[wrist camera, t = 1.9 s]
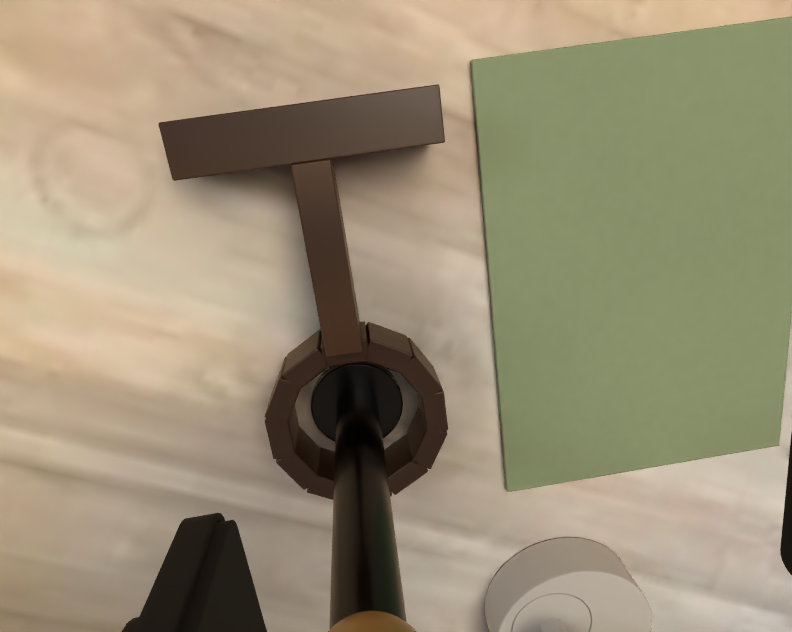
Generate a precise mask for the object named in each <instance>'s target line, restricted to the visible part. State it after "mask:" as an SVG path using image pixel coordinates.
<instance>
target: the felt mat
mask: <svg viewBox="0 0 792 632" xmlns="http://www.w3.org/2000/svg"><path fill="white" fill-rule="evenodd" d="M471 74H472V86H473V98H474V110H475V122H476V134H477V146H478V158H479V170H480V182H481V194H482V206H483V218H484V229H485V241H486V253H487V265H488V277H489V289H490V301H491V313H492V325H493V337H494V349H495V361H496V373H497V385H498V397H499V409H500V421H501V433H502V445H503V457H504V469H505V481H506V490H507V492H511V491H517V490H523V489H529V488H535V487H540V486H546V485H552V484H558V483H564V482H569V481H575V480H581V479H587V478H593V477H599V476H604V475H610V474H616V473H622V472H628V471H633V470H639V469H645V468H651V467H657V466H662V465H668V464H674V463H680V462H686V461H691V460H697V459H703V458H709V457H715V456H720V455H726V454H732V453H738V452H744V451H750V450H755V449H761V448H767V447H773V446H779V440H780V429H781V419H782V408H783V398H784V387H785V377H786V366H787V356H788V345H789V335H790V324H791V314H792V17H786V18H779V19H771V20H764V21H757V22H749V23H742V24H734V25H727V26H720V27H712V28H705V29H697V30H690V31H682V32H675V33H668V34H660V35H653V36H645V37H638V38H631V39H623V40H616V41H608V42H601V43H593V44H586V45H579V46H571V47H564V48H556V49H549V50H542V51H534V52H527V53H519V54H512V55H504V56H497V57H490V58H482V59H475V60H471Z"/></svg>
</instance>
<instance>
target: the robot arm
mask: <svg viewBox="0 0 792 632" xmlns="http://www.w3.org/2000/svg"><path fill="white" fill-rule="evenodd" d="M780 550H781V557H782V561H783V563H784V565H785V567H786V568H787V570H788V572H789V573H790V574H791V575H792V434H791V445H790V455H789V466H788V476H787V486H786V497H785V507H784V518H783V528H782V539H781V549H780ZM122 632H267V630H266V627H265V623H264V620H263V616H262V613H261V609H260V605H259V602H258V598H257V595H256V591H255V587H254V584H253V580H252V577H251V573H250V570H249V566H248V562H247V559H246V555H245V552H244V548H243V544H242V541H241V537H240V534H239V530H238V527H237V524H236V522H235V521H234V520H229V521H225V519H224V517H223V515H222V514H220V513H215V514H209V515H203V516H198V517H192V518H186V519H184V520H182V522H181V524H180V525H179V528H178V530H177V532H176V535H175V537H174V539H173V541H172V544H171V546H170V548H169V551H168V553H167V555H166V557H165V560H164V562H163V564H162V567H161V569H160V571H159V573H158V576H157V578H156V580H155V583H154V585H153V587H152V589H151V592H150V594H149V596H148V599H147V601H146V603H145V605H144V608H143V610H142V612H141V615H140V617H137V618H133V619H132V620H130V621H129V622H128V623H127V624H126V626H125V627H124V629H123V631H122Z"/></svg>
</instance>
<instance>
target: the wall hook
mask: <svg viewBox="0 0 792 632" xmlns="http://www.w3.org/2000/svg"><path fill="white" fill-rule="evenodd" d="M485 617H486V621H487V624H488V628H489V631H490V632H651V629H652V614H651V609H650V606H649V603H648V601H647V599H646V597H645V596H644V594H643V593H642V591H641V590H640V588H639V587H638V585H637V584H636V582H635V581H634V579H633V578H632V576H631V575H630V573H629V572H628V570H627V569H626V567H625V566H624V564H623V563H622V561H621V560H620V559H619V557H618V556H617V555H616V554H615V553H614V552H613V551H611V550H610V549H609V548H607V547H605V546H604V545H602V544H600V543H597V542H595V541H591V540H588V539H583V538H572V537H570V538H557V539H551V540H547V541H543V542H540V543H537V544H535V545H533V546H530V547H528V548H526V549H524V550H523V551H521V552H519V553H518V554H516V555H515V556H514V557H512V558H511V559H510V560H509V561H508V562H507V563H505V564H504V566H503V567H502V568H501V569H500V570H499V571H498V572H497V574H496V575H495V577H494V578H493V580H492V582H491V584H490V586H489V588H488V591H487V594H486V598H485Z"/></svg>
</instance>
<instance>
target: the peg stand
mask: <svg viewBox="0 0 792 632" xmlns="http://www.w3.org/2000/svg"><path fill="white" fill-rule="evenodd" d="M402 407H403V401H402V395H401V390H400V387H399V384H398V383H397V381H396V379H395V378H394V376H393V375H392V374H391V373H390V372H389V371H388V370H387V369H385V368H384V367H382V366H380V365H377V364H374V363H371V362H368V361H362V362H356V363H349V364H343V365H337V366H333V367H331V368H330V369H328V370H327V371H326V372H325V373H324V374H323V375H322V376H321V377H320V378H319V380H318V381H317V383H316V385H315V387H314V390H313V393H312V400H311V411H312V416H313V419H314V421H315V424H316V425H317V427H318V428H319V429H320V431H321V432H322V433H323V434H324V435H325V436H326V437H328V438H329V439H331V440H333V441H334V442H335V468H334V501H333V534H332V567H331V601H330V630H329V631H328V632H416V631H415V630H414V629H413V628H412V627H411V626H410V625H409V624H408V623H407V622H406V615H405V607H404V599H403V592H402V584H401V576H400V569H399V561H398V553H397V546H396V538H395V530H394V523H393V515H392V507H391V500H390V492H389V484H388V477H387V469H386V462H385V454H384V446H383V438H384V437H386V436H387V435H388V434H389V433H390V432H391V431H392V430H393V429H394V428H395V426H396V425H397V423H398V421H399V419H400V416H401V413H402Z"/></svg>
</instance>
